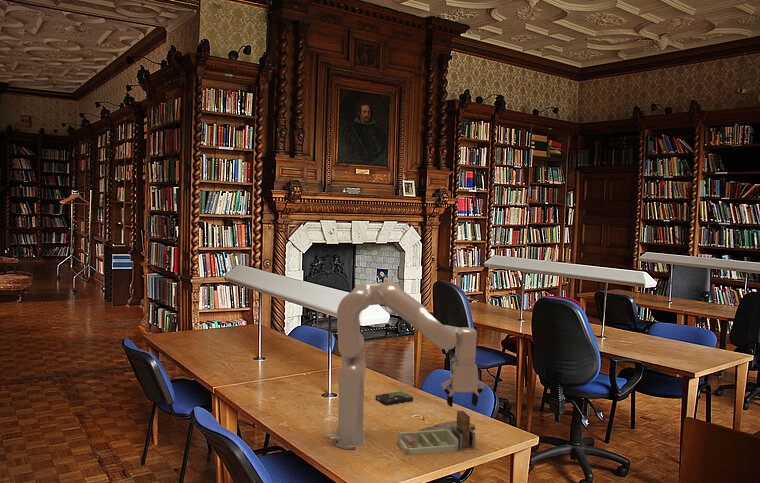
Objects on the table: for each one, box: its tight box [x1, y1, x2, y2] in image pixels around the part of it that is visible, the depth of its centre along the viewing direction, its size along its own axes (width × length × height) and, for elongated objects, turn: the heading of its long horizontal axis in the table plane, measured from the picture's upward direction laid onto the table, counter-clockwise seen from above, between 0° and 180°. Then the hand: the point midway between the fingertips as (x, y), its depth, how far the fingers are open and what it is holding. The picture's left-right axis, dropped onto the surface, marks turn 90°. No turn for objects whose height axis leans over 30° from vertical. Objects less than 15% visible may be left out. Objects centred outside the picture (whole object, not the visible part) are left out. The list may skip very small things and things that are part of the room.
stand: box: [451, 426, 476, 451], centre depth 227 cm, size 6×9×7 cm, turn 14°
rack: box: [397, 429, 459, 456], centre depth 224 cm, size 20×11×5 cm, turn 104°
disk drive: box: [375, 391, 414, 407], centre depth 281 cm, size 10×3×15 cm
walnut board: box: [456, 410, 471, 449], centre depth 227 cm, size 2×7×12 cm, turn 14°
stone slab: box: [417, 420, 476, 431], centre depth 242 cm, size 10×3×30 cm
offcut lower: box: [404, 440, 418, 448], centre depth 222 cm, size 3×7×2 cm, turn 14°
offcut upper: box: [404, 435, 418, 446], centre depth 222 cm, size 3×6×2 cm, turn 19°
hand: (462, 405), depth 226 cm, fingers open, 9 cm apart
